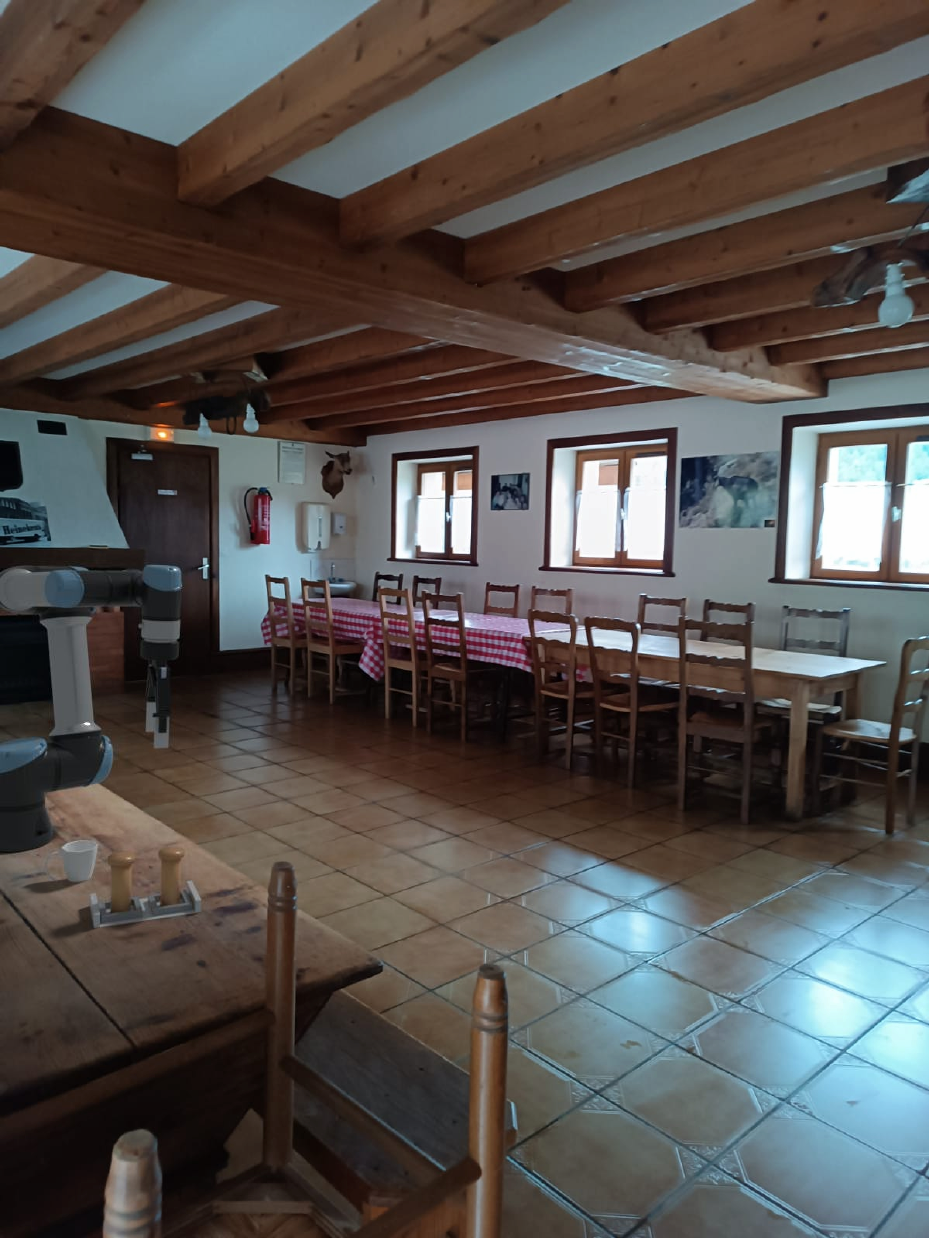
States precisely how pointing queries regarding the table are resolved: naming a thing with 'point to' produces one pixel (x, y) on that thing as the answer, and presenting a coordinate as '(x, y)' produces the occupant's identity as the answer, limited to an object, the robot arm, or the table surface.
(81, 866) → the cup
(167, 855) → the tan ball-headed post
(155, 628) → the robot arm
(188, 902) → the tray
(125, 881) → the rounded wooden peg
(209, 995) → the table surface
